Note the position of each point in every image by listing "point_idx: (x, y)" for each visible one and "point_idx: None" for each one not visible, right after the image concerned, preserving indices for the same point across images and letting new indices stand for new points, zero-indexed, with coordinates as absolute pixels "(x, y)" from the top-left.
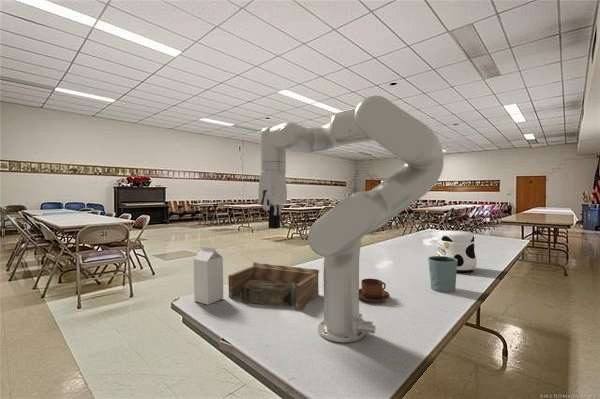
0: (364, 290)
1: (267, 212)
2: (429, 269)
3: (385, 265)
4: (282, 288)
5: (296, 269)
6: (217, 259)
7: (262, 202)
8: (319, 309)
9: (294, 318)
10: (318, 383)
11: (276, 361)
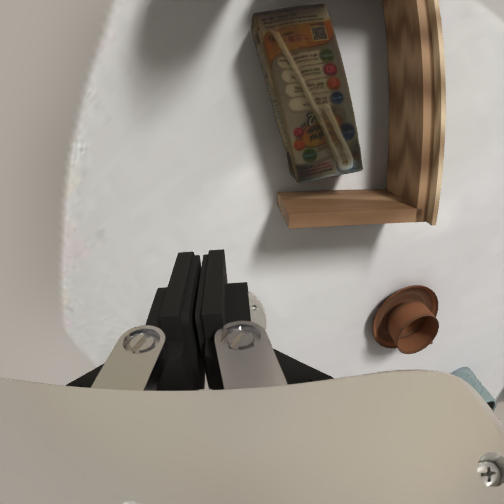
0: (397, 318)
1: (114, 351)
2: (476, 388)
3: None
4: (303, 147)
5: (436, 141)
6: None
7: (21, 404)
8: (303, 243)
9: (227, 216)
10: (84, 336)
11: (79, 273)
